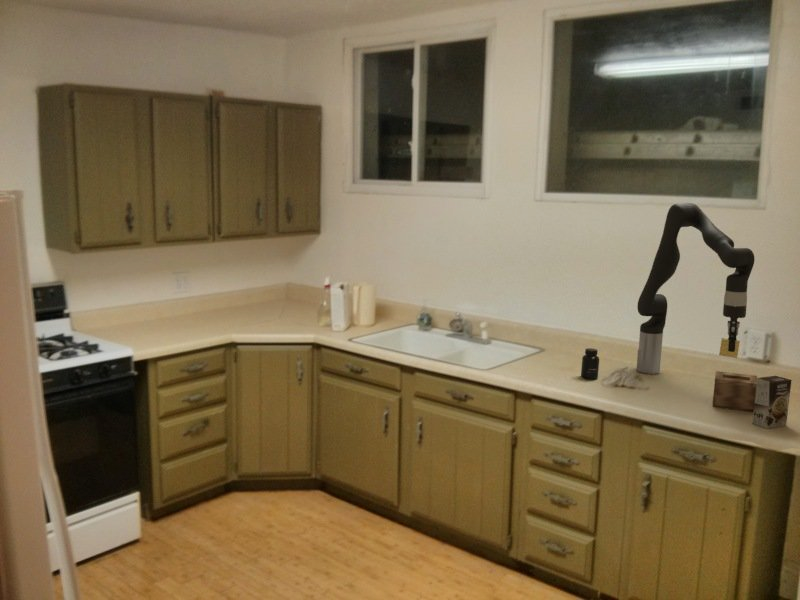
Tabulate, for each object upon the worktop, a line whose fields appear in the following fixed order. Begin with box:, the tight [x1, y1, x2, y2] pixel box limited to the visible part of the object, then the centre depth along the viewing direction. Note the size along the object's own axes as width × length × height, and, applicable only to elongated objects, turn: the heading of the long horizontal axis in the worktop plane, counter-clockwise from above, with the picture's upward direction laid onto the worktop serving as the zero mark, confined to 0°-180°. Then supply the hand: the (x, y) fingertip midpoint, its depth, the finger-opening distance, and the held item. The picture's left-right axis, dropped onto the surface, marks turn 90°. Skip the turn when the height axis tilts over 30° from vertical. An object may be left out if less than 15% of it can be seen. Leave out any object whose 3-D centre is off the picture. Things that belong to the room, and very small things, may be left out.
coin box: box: [712, 370, 758, 413], centre depth 267 cm, size 14×12×10 cm
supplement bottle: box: [580, 347, 600, 381], centre depth 299 cm, size 7×7×12 cm
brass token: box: [718, 337, 741, 359], centre depth 266 cm, size 6×2×6 cm, turn 65°
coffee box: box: [752, 375, 792, 429], centre depth 246 cm, size 9×6×16 cm
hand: (731, 350), depth 266 cm, fingers closed on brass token, 2 cm apart
